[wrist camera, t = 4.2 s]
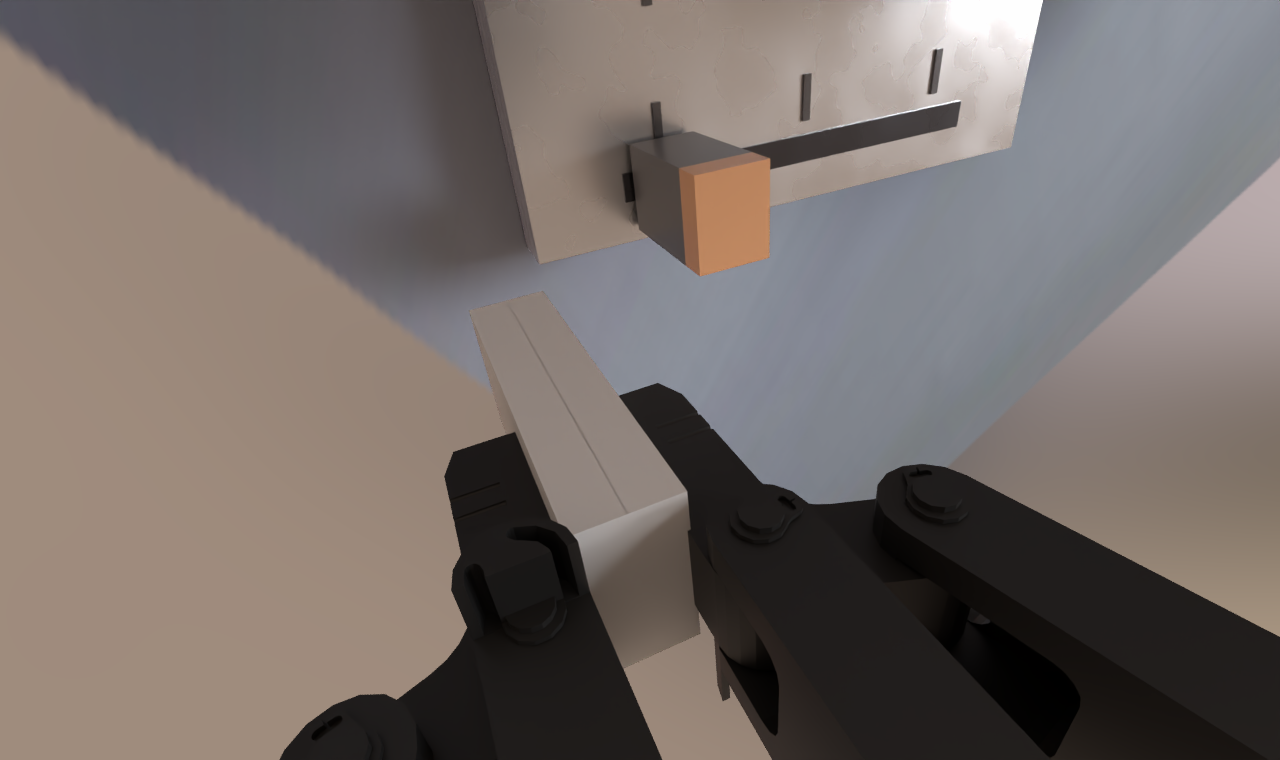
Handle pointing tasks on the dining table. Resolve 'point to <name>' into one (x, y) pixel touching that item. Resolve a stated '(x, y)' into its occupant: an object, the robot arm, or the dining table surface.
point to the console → (741, 94)
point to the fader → (703, 200)
